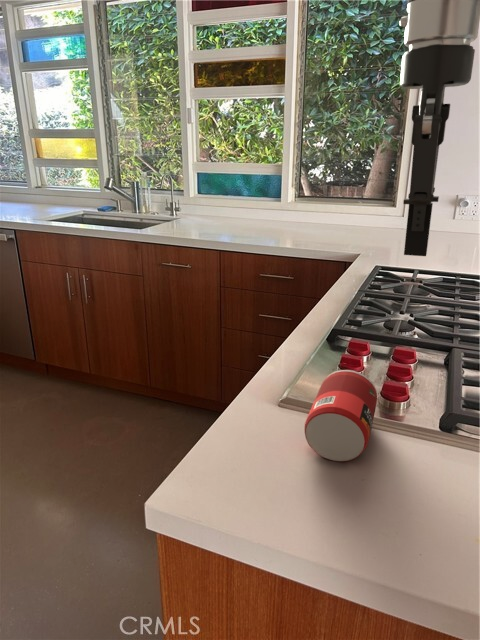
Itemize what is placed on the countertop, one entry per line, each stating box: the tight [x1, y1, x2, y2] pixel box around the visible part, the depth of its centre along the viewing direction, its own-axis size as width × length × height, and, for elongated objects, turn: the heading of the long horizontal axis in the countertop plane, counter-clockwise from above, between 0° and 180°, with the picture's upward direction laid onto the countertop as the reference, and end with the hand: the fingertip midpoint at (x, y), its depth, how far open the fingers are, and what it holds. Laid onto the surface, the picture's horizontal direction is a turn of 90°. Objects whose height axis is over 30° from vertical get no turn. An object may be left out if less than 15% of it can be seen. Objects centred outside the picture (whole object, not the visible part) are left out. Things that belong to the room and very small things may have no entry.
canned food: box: [304, 369, 378, 462], centre depth 61 cm, size 8×8×11 cm
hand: (415, 254), depth 61 cm, fingers closed
